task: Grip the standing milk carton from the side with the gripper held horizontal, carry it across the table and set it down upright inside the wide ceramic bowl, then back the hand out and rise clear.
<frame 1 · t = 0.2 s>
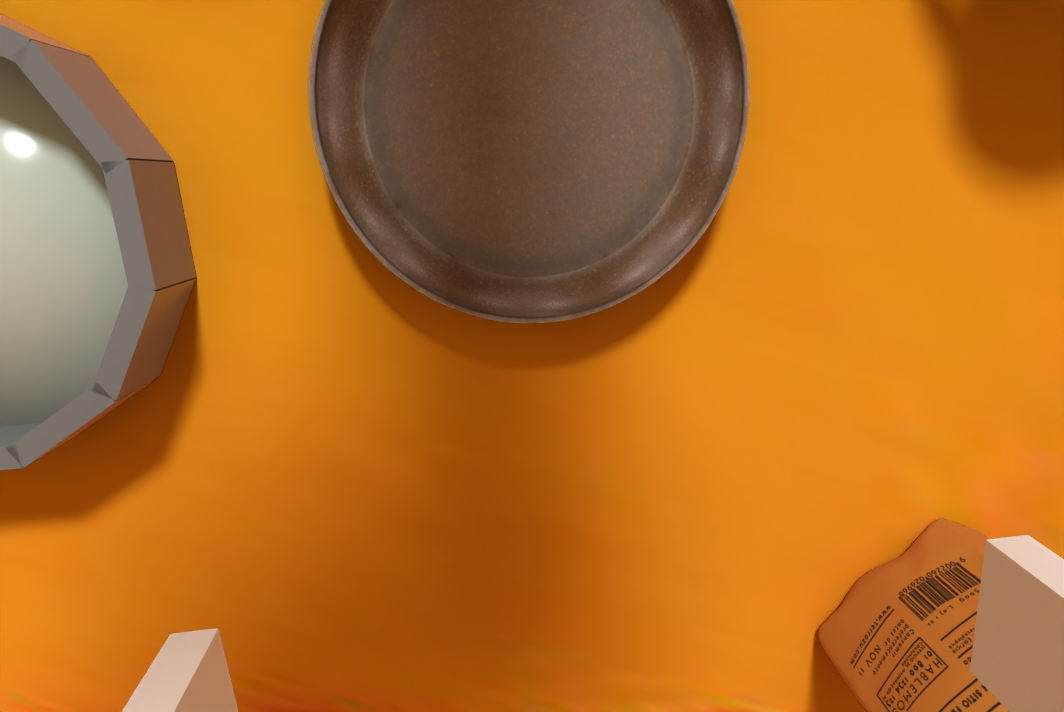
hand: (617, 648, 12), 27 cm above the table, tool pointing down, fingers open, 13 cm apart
coffee package: (915, 605, 44), on the table
plant saucer: (528, 113, 36), on the table
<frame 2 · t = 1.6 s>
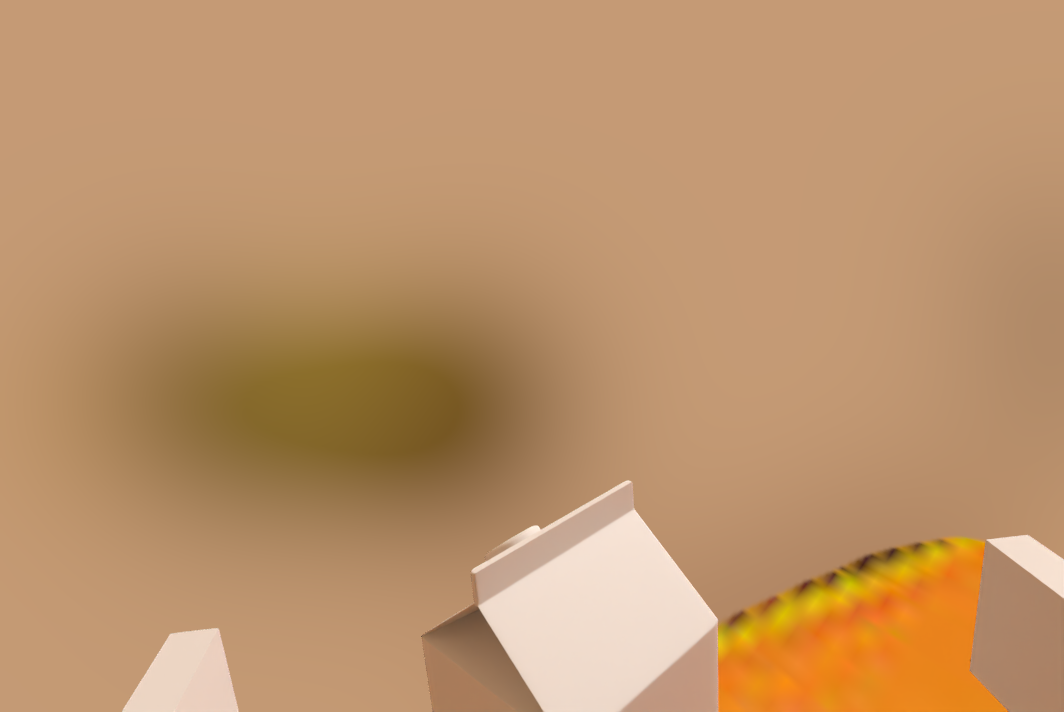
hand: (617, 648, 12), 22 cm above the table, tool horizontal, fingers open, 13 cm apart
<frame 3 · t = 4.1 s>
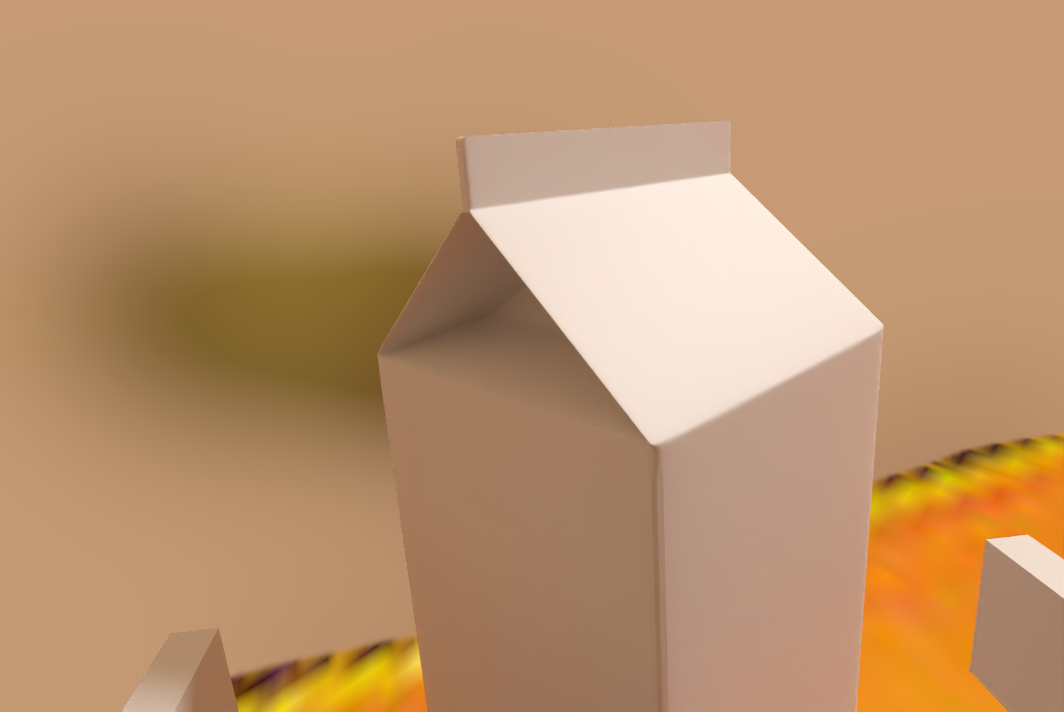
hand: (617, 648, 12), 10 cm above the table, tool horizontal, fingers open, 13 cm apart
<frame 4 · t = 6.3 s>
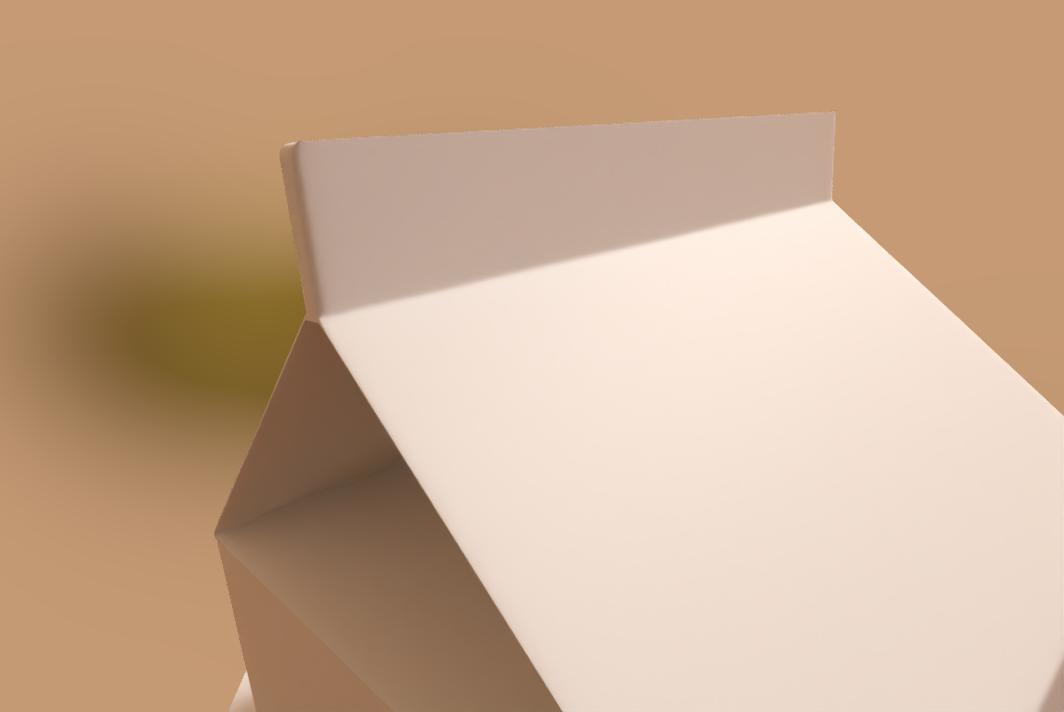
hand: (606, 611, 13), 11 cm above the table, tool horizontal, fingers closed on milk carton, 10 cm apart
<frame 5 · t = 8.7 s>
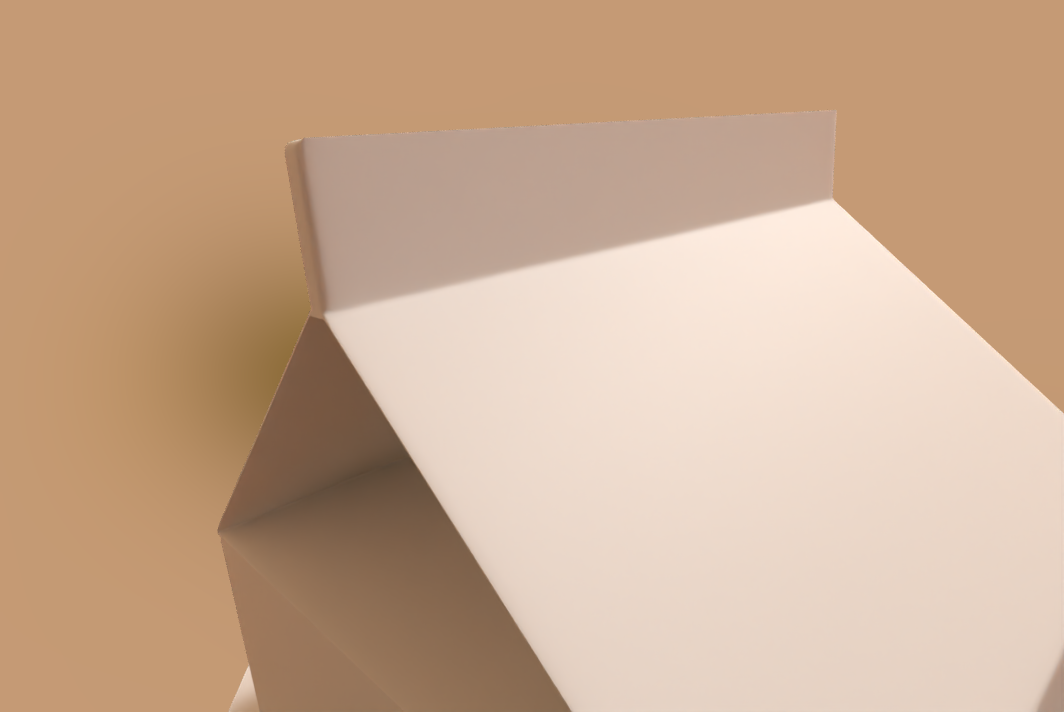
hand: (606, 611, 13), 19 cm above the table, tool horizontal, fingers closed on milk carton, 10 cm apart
when the fingers open (13 cm above the table, at t = 11.1 s): milk carton drops 1 cm, resting on bowl.
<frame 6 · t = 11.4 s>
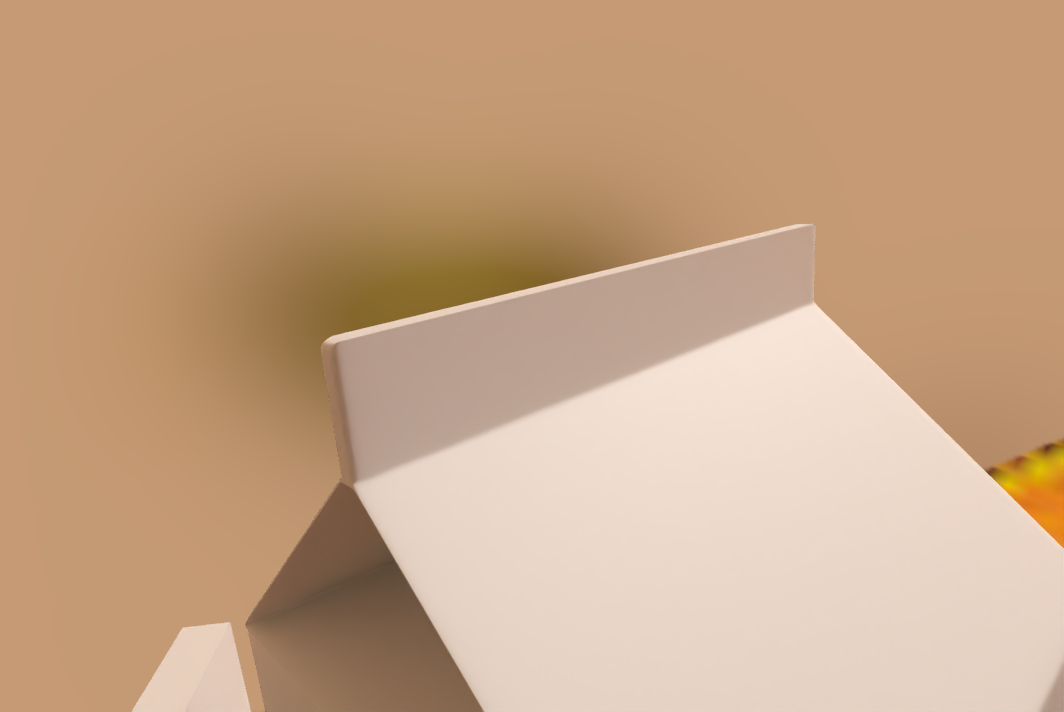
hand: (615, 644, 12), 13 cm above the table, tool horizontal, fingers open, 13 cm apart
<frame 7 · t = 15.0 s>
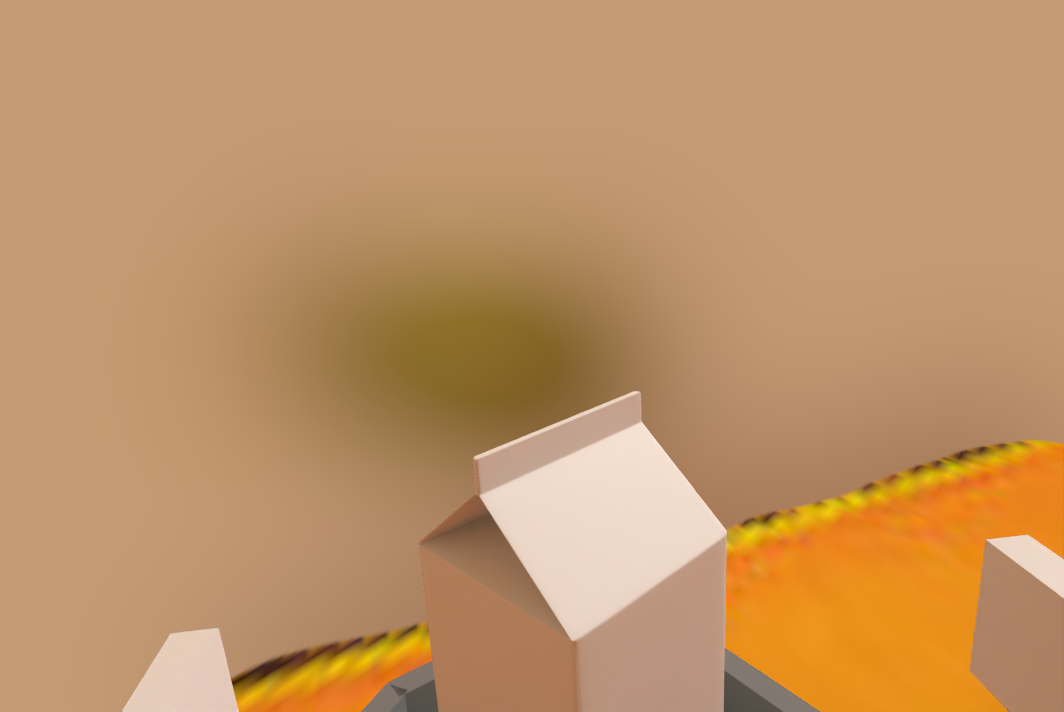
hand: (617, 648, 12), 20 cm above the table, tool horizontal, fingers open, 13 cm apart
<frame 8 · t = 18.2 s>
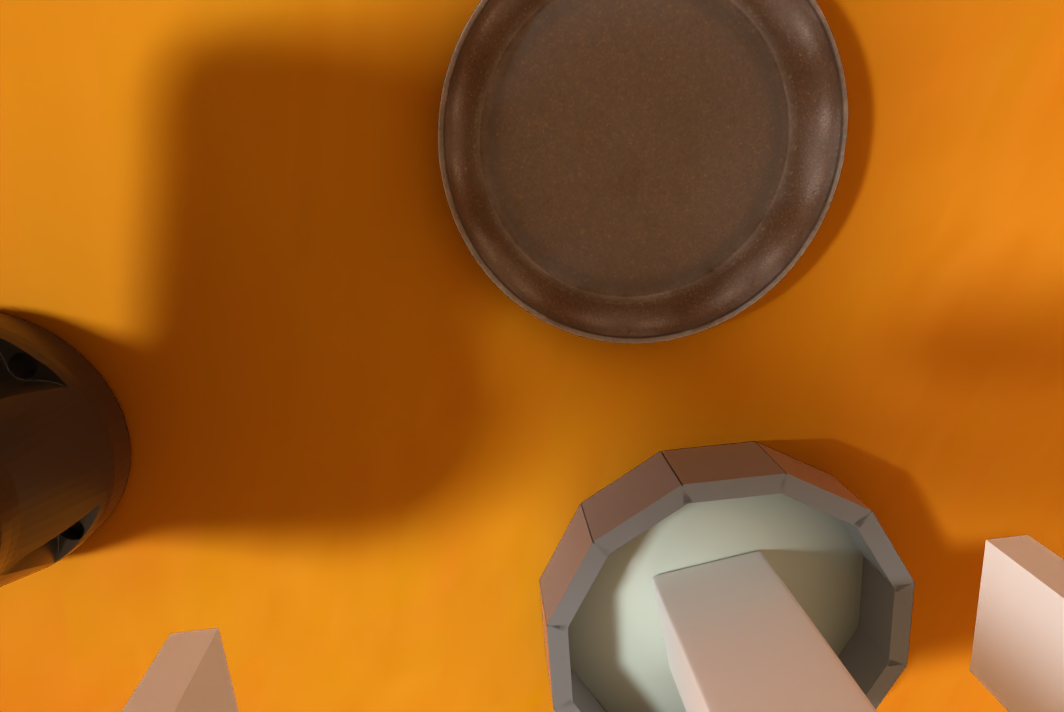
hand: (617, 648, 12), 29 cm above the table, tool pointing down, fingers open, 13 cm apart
bowl: (708, 599, 46), on the table
milk carton: (712, 606, 45), point 1 cm above the table, touching bowl
plant saucer: (631, 145, 38), on the table
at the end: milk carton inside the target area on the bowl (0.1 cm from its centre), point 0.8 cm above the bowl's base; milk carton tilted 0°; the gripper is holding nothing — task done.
